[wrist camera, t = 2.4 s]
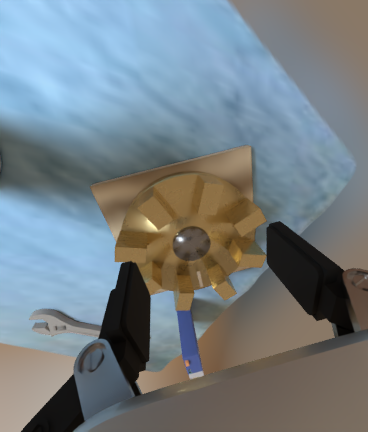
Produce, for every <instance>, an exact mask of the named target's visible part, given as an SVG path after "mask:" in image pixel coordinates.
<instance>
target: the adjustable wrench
mask: <svg viewBox="0 0 368 432" xmlns="http://www.w3.org/2000/svg"><path fill="white" fill-rule="evenodd" d="M35 319H43V320H44V321H46V322H45V323H35V324H34V326H33V328H32V330H33V331H35V332H37V333H40V334H45V335H51V337H52V336H54V335H57V334H61V333H76V334H82V335H87V336H93V337H99V334H100V330H101V327H102V326H97V325H92V324H87V323H82V322H77V321H74V320H72V319H70V318H68V317H66V316H64V315H62V314H61V313H59V312H58V311H55V310H52V309H39V310H36V311H34V312H33V313H32V315H31V316H30V318H29V320H35Z"/></svg>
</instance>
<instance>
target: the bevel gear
mask: <svg viewBox="0 0 368 432" xmlns="http://www.w3.org/2000/svg"><path fill="white" fill-rule="evenodd" d="M266 221H267V220H266V219H265V217H264V215H263V213H262V211H261V209H260V208H259V207H258V206H256V205H255V204H254V203H253V202H251V201H250V200H249V199H247V198H246V197H245V196H244V195H243V194H242V193H241V192H240V191H239V190H238V189H237V188H235V187H234V186H233V185H231V184H230V183H229V182H228V181H226V180H224V179H222V178H221V177H219V176H216V175H213V174H211V173H206V172H201V171H182V172H177V173H172V174H169V175H166V176H163V177H161V178H159V179H157V180H155V181H154V182H152V183H150V184H149V185H147V186H146V187H145V188H144V189H143V190H142V191H140V192H139V193H138V195H137V196H136V197H135V198H134V199H133V201H132V202H131V204H130V206H129V207H128V210H127V212H126V214H125V217H124V220H123V224H122V227H121V231H120V233H119V236H118V239H117V242H116V245H115V262H128V261H132V262H133V263H134V262H136V264H137V266H138V268H139V270H140V272H141V275H142V277H143V279H144V281H145V284H146V286H147V288H148V290H149V293H150V295H151V294H153V293H155V292H156V291H158V290H159V289H164V290H170V291H173V292H174V300H175V309H176V311H187V310H190V308H191V304H192V300H193V297H194V290H197V289H202V288H205V287H208V286H211V285H212V286H213V289H214V290H215V291H216V292H217V293H218V294H219V295H220V296H221V297H222V298H223V299H224V300H227V299H228V298H230V297H232V296H234V295H235V294H237V293H236V291H235V289H234V287H233V285H232V283H231V280H230V278H229V275H230V274H231V273H232V272H234V271H235V270H236V269H237V268H238V267H259V268H261V267H262V265H263V263H264V261H265V258H266V256H267V255H266V254H265V253H264V252H263V250H262V249H261V248H260V247H259V246H258V245H257V243H256V242H255V241H254V237H255V230H256V227H258V226H260V225H261V224H263V223H264V222H266Z"/></svg>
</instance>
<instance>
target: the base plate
mask: <svg viewBox="0 0 368 432" xmlns="http://www.w3.org/2000/svg"><path fill="white" fill-rule="evenodd" d="M182 171H201V172H206V173H211V174H213V175H216V176H219V177H221V178H222V179H224V180H226V181H228V182H229V183H230V184H231V185H233V186H234V187H235V188H237V189H238V190H239V191H240V192H241V193H242V194H243V195H244V196H245V197H246V198H247V199H249V200H250V201H251V202H253V184H252V159H251V146H249V145H244V146H240V147H236V148H232V149H228V150H224V151H220V152H217V153H213V154H209V155H205V156H201V157H197V158H193V159H189V160H185V161H181V162H177V163H173V164H169V165H165V166H161V167H158V168H154V169H150V170H146V171H142V172H138V173H134V174H130V175H126V176H122V177H118V178H114V179H110V180H106V181H103V182H99V183H95V184H92V185H91V186H90V188H91V191H92V193H93V195H94V197H95V199H96V201H97V203H98V205H99V207H100V209H101V211H102V213H103V215H104V217H105V220H106V222H107V224H108V226H109V228H110V230H111V232H112V234H113V236H114V238H115V240H116V242H117V239H118V236H119V233H120V231H121V227H122V224H123V220H124V217H125V214H126V212H127V210H128V207H129V206H130V204H131V202H132V201H133V199H134V198H135V197H136V196H137V195H138V193H139V192H140V191H142V190H143V189H144V188H145V187H146V186H147V185H149V184H150V183H152V182H154V181H155V180H157V179H159V178H161V177H163V176H166V175H169V174H172V173H177V172H182ZM254 241H255V237H254ZM248 268H251V267H238V268H237V269H236V270H235V271H234V272H237V271H240V270H244V269H248ZM232 273H233V272H232ZM164 291H168V290H164V289H159V290H158V291H156V292H155V293H153V294H157V293H161V292H164ZM153 294H151V295H153Z"/></svg>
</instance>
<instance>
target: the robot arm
mask: <svg viewBox="0 0 368 432" xmlns="http://www.w3.org/2000/svg"><path fill="white" fill-rule="evenodd" d="M0 172H1V157H0ZM267 264H268V266H269V267H270V268H271V269H272V271H273V272H274V273H275V274H276V276H277V277H278V278H279V279H280V281H281V282H282V283H283V284H284V285H285V287H286V288H287V289H288V290H289V292H290V293H291V294H292V295H293V297H294V298H295V299H296V300H297V301H298V302H299V304H300V305H301V306H302V307H303V309H304V310H305V311H306V312H307V314H309V315H312V316H313V317H314V318H315V319H316V320H317V321H318V320H322V319H325V318H327V319H328V321H329V322H331V323H332V327H333V332H334V336H335V338H332V339H329V340H325V341H322V342H318V343H314V344H311V345H308V346H304V347H301V348H297V349H293V350H290V351H286V352H283V353H279V354H276V355H273V356H269V357H266V358H262V359H259V360H255V361H252V362H248V363H245V364H242V365H238V366H235V367H231V368H228V369H225V370H221V371H218V372H215V373H211V374H208V375H204V376H201V377H197V378H194V379H191V380H188V381H184V382H181V383H177V384H174V385H171V386H167V387H164V388H161V389H158V390H155V391H152V392H148V393H146V394H142V392H141V390H140V388H139V386H138V384H137V382H136V380H137V379H138V377H139V372H141V371H144V370H146V362H148V361H149V347H150V301H151V298H150V293H149V290H148V288H147V286H146V284H145V281H144V279H143V277H142V275H141V272H140V270H139V268H138V266H137V264H136V262H134V263H133V262H132V261H128V262H125V263H122V264H121V267H120V271H119V275H118V280H117V284H116V288H115V289H113V290H112V291H111V293H110V296H109V300H108V304H107V308H106V311H105V315H104V319H103V323H102V327H101V330H100V334H99V338H98V339H97V340H94V341H92V342H90V343H89V344H87V345H86V346H85V347H84V348H83V349H82V351H81V352H80V353H79V355H78V357H77V359H76V361H75V364H74V374H73V375H72V376H71V377H70V378H69V380H68V381H67V382H66V383H65V384H64V385H63V386H62V387H61V388H60V389H59V390H58V391H57V393H56V394H55V395H54V396H53V397H52V398H51V399H50V400H49V401H48V402H47V403H46V405H44V407H43V408H42V409H41V410H40V411H39V412H38V413H37V414H36V415H35V416H34V417H33V418H32V419H31V421H30V422H29V423H28V424H27V425H26V426H25V427H24V428H23V430H22V431H21V432H368V271H367V270H363V269H356V268H352V269H348V270H346V271H344V270H343V269H341V268H340V267H339V266H338V265H337V264H335V263H334V262H333V261H331V260H330V259H329V258H327V257H326V256H325V255H324V254H322V253H321V252H320V251H318V250H317V249H316V248H314V247H313V246H312V245H310V244H309V243H308V242H307V241H305V240H304V239H303V238H301V237H300V236H299V235H297V234H296V233H295V232H294V231H292V230H291V229H290V228H288V227H287V226H286V225H284V224H283V223H282V222H280V221H278V222H275V223H271V224H269V227H267Z"/></svg>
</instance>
